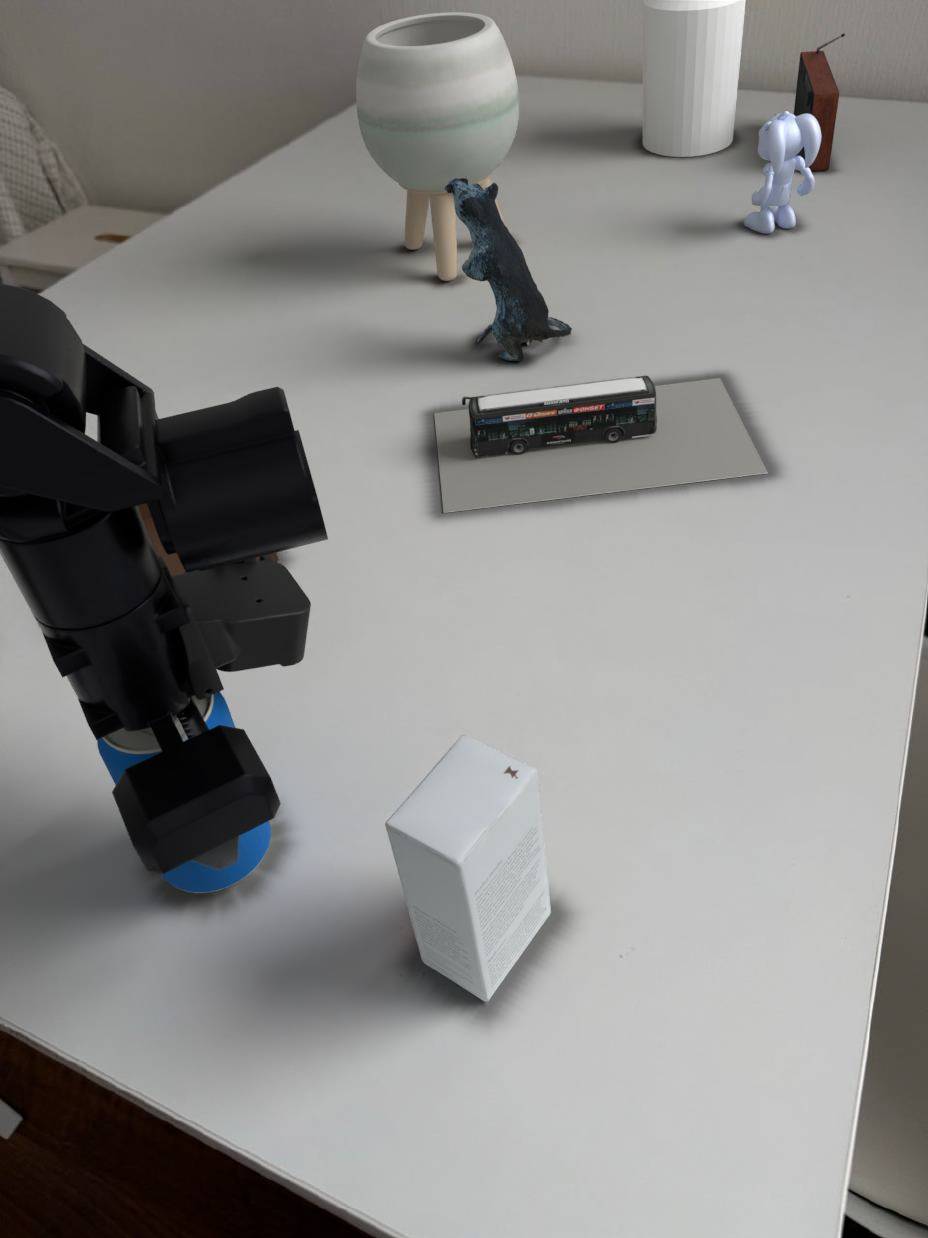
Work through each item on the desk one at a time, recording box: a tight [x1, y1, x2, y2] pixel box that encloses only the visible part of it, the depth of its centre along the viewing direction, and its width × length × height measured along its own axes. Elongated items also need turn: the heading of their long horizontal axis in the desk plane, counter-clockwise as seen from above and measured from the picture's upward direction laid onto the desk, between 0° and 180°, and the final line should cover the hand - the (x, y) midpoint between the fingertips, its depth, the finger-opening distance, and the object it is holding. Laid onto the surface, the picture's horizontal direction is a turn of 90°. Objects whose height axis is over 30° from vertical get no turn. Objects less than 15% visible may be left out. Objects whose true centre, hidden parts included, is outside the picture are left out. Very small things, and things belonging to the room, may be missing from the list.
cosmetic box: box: [384, 734, 552, 1003], centre depth 49 cm, size 6×4×12 cm
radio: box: [793, 33, 846, 172], centre depth 121 cm, size 19×3×15 cm, turn 172°
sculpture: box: [445, 178, 573, 362], centre depth 93 cm, size 8×11×15 cm
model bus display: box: [433, 375, 769, 514], centre depth 83 cm, size 14×25×4 cm, turn 94°
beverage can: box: [96, 691, 272, 894], centre depth 54 cm, size 6×6×12 cm
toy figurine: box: [743, 110, 821, 235], centre depth 107 cm, size 7×6×12 cm
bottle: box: [642, 0, 747, 158], centre depth 124 cm, size 12×12×25 cm
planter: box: [355, 11, 520, 282], centre depth 106 cm, size 16×16×22 cm
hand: (199, 803), depth 56 cm, fingers open, 9 cm apart
